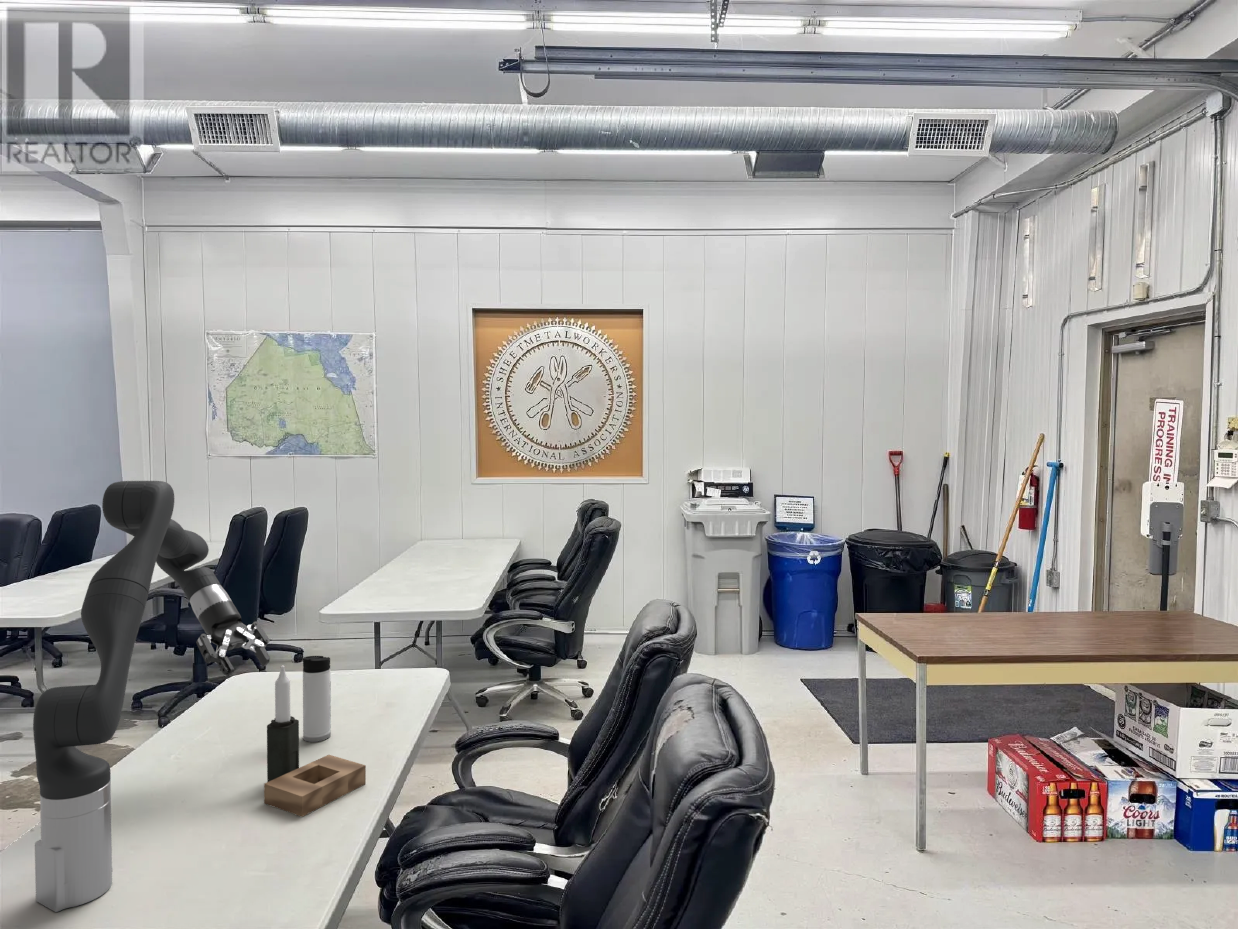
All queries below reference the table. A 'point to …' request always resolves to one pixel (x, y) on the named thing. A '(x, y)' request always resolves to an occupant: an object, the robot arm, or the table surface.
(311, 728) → the travel mug
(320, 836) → the table surface
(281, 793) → the socket block
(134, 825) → the table surface
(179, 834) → the table surface
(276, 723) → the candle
